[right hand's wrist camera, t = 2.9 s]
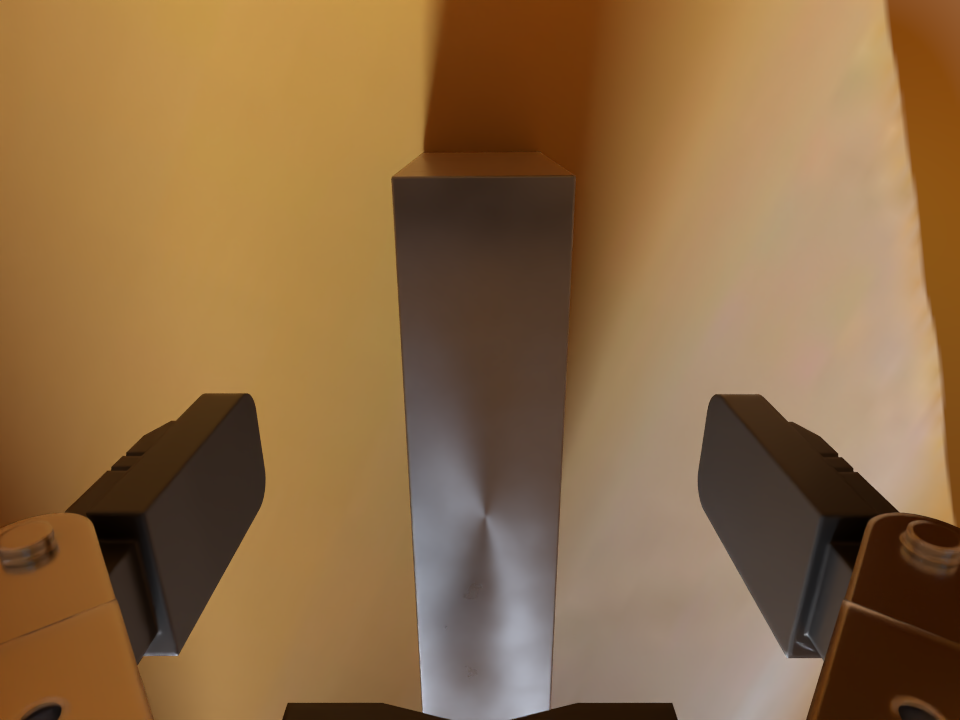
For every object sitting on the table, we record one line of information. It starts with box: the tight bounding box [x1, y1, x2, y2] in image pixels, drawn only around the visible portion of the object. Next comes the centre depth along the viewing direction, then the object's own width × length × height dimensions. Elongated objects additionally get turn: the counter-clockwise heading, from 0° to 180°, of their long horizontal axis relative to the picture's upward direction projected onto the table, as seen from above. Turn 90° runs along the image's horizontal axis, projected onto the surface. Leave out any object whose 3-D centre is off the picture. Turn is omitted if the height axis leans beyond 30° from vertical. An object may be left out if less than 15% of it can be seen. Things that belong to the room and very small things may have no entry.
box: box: [392, 152, 576, 720], centre depth 29 cm, size 25×6×12 cm, turn 0°
